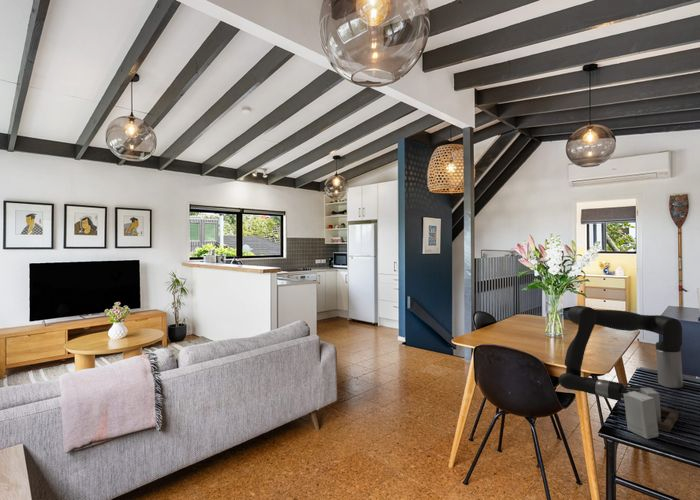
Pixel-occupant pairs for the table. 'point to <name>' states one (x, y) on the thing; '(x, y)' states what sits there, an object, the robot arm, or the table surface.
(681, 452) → the table surface
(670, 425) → the walnut collar
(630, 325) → the robot arm
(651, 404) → the skincare box
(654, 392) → the skincare box
